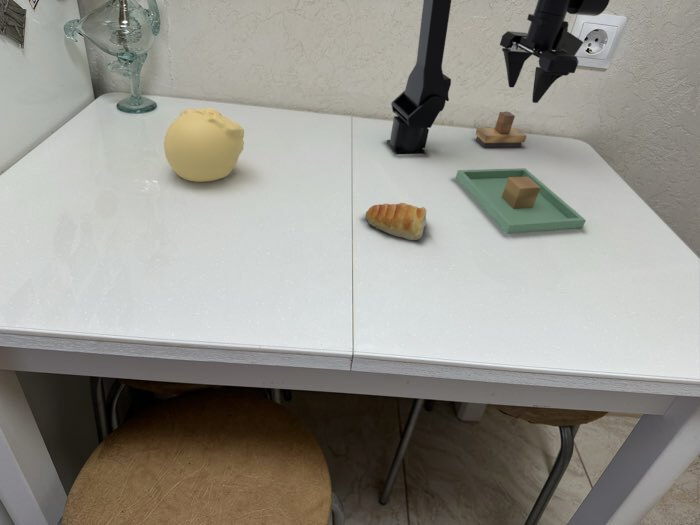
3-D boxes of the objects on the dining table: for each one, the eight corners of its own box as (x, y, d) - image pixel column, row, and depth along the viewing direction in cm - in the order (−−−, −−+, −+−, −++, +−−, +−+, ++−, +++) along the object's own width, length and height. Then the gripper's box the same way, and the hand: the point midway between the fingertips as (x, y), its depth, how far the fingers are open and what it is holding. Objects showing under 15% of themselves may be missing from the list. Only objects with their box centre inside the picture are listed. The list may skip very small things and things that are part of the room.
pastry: (361, 231, 74) (364, 209, 72) (368, 209, 80) (372, 188, 78) (422, 243, 74) (427, 222, 71) (425, 221, 79) (430, 200, 77)
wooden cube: (513, 208, 84) (520, 188, 82) (501, 197, 87) (508, 177, 85) (532, 207, 85) (540, 187, 83) (520, 196, 88) (527, 176, 86)
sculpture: (254, 171, 86) (253, 110, 79) (206, 197, 77) (201, 132, 71) (204, 151, 90) (200, 92, 83) (153, 174, 81) (143, 110, 75)
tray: (505, 236, 78) (509, 225, 77) (454, 180, 92) (457, 170, 91) (581, 230, 82) (586, 219, 81) (521, 177, 96) (525, 168, 95)
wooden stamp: (483, 148, 106) (492, 117, 102) (473, 139, 109) (481, 109, 105) (522, 147, 109) (533, 117, 104) (512, 139, 112) (521, 110, 108)
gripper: (617, 27, 88) (582, 112, 97) (556, 5, 102) (531, 81, 111) (566, 22, 85) (534, 111, 94) (510, 0, 99) (488, 79, 108)
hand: (522, 94), depth 102 cm, fingers open, 9 cm apart
